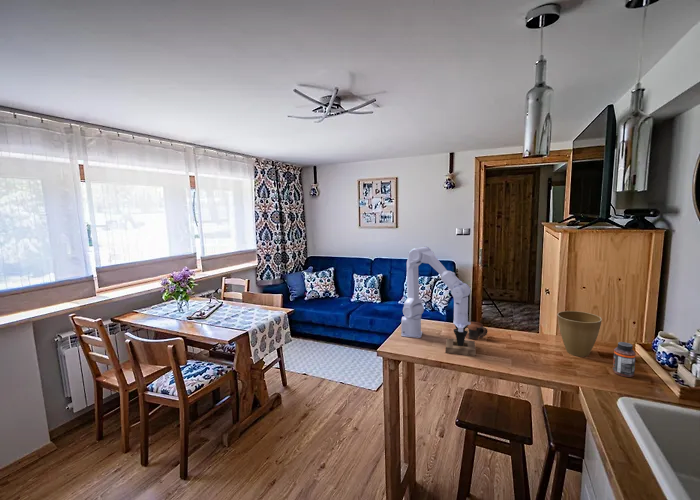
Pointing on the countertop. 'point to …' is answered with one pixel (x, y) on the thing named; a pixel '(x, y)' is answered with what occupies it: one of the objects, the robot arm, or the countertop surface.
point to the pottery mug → (476, 330)
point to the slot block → (460, 347)
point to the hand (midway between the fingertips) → (460, 342)
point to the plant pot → (579, 331)
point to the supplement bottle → (624, 360)
